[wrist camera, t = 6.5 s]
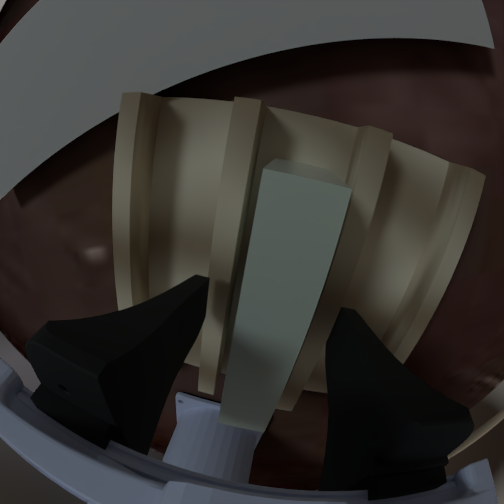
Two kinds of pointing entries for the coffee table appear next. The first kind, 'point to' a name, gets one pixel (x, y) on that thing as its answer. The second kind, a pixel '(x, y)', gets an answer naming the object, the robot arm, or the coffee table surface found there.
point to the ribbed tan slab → (243, 210)
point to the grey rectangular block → (173, 54)
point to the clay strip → (280, 285)
